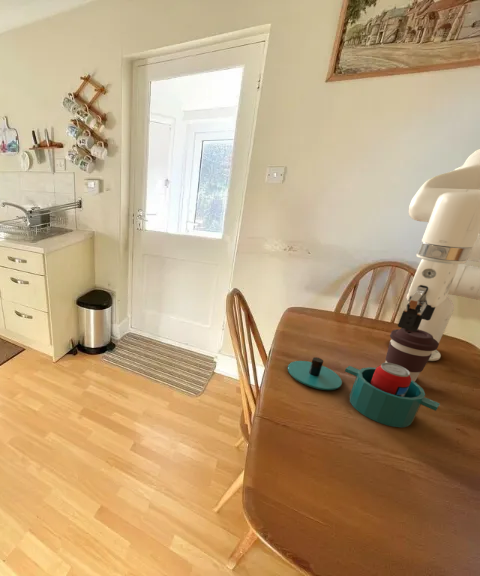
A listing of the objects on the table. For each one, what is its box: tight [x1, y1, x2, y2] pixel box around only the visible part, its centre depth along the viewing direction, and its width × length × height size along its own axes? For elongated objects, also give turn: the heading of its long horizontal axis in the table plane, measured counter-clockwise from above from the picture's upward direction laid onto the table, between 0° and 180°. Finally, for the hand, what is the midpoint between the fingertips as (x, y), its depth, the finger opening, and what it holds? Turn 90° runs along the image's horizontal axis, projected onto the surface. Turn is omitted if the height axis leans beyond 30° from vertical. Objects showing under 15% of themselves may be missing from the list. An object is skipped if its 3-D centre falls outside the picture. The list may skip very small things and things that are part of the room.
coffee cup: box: [384, 328, 440, 382], centre depth 92 cm, size 10×10×15 cm
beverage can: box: [370, 362, 411, 397], centre depth 80 cm, size 7×7×12 cm
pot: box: [344, 365, 441, 428], centre depth 80 cm, size 13×18×8 cm
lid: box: [287, 356, 343, 391], centre depth 93 cm, size 14×14×6 cm
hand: (413, 323), depth 73 cm, fingers open, 9 cm apart
